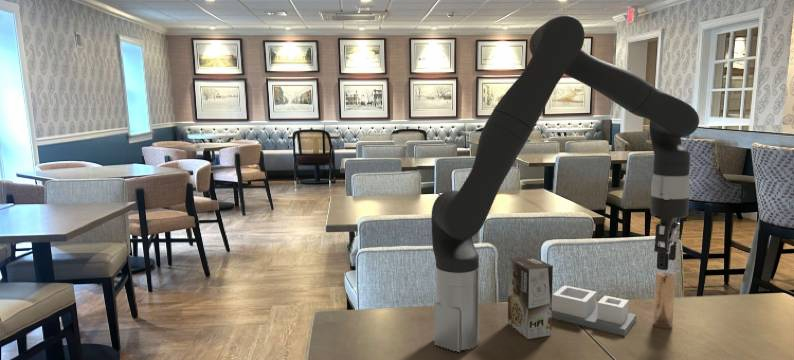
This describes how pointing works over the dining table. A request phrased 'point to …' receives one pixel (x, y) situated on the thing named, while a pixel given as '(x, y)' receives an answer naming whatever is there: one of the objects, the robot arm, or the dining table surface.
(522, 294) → the coffee box
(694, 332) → the dining table surface
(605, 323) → the socket plate
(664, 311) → the copper pipe
